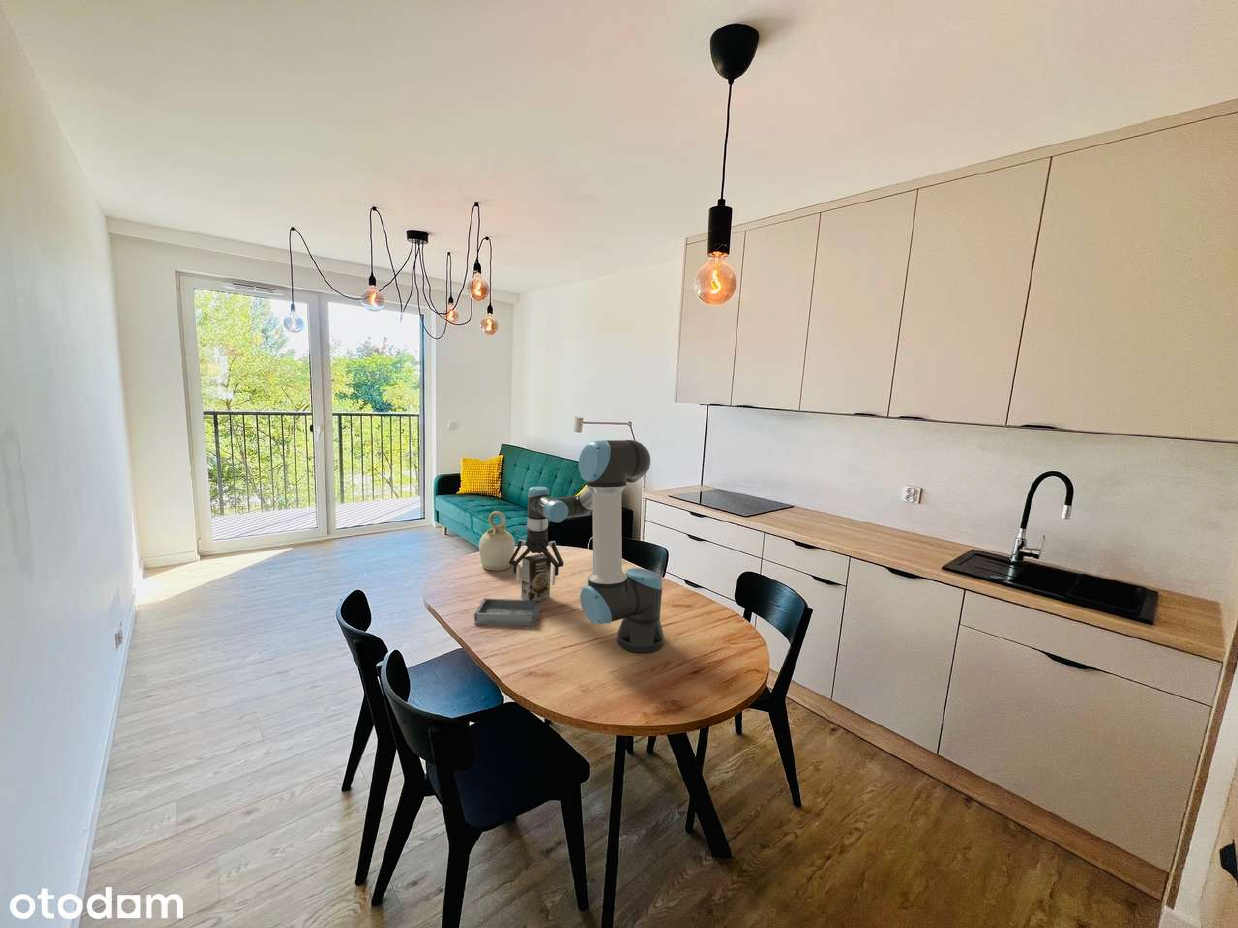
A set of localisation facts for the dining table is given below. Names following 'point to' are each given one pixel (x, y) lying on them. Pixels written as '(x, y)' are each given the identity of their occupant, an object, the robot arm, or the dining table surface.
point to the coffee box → (536, 577)
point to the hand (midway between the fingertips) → (535, 582)
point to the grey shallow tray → (507, 612)
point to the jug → (496, 545)
